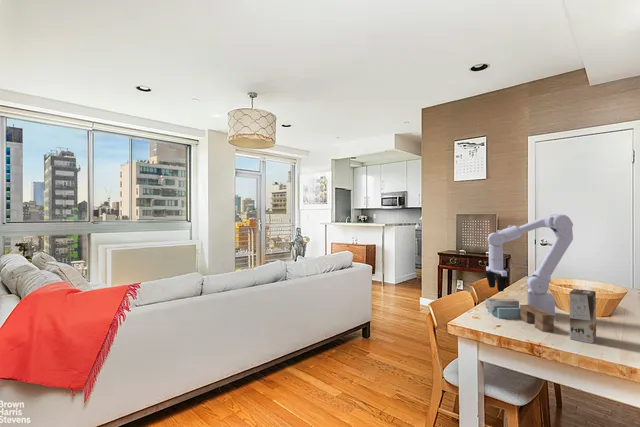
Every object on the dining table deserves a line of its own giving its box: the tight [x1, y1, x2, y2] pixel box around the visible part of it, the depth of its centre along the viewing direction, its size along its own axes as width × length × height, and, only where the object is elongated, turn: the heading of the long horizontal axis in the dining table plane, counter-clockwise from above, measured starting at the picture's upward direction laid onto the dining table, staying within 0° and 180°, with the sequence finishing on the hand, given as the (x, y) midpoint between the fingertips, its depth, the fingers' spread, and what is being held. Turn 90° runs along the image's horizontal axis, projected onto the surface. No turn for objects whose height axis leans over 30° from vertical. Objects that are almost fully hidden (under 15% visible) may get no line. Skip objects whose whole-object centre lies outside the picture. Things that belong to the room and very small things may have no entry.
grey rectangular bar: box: [485, 298, 520, 311], centre depth 139 cm, size 12×4×4 cm, turn 85°
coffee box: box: [569, 288, 597, 344], centre depth 113 cm, size 9×6×16 cm
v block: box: [487, 306, 520, 320], centre depth 139 cm, size 10×10×4 cm
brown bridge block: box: [519, 304, 555, 332], centre depth 126 cm, size 4×14×6 cm, turn 178°
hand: (496, 289), depth 146 cm, fingers open, 7 cm apart
